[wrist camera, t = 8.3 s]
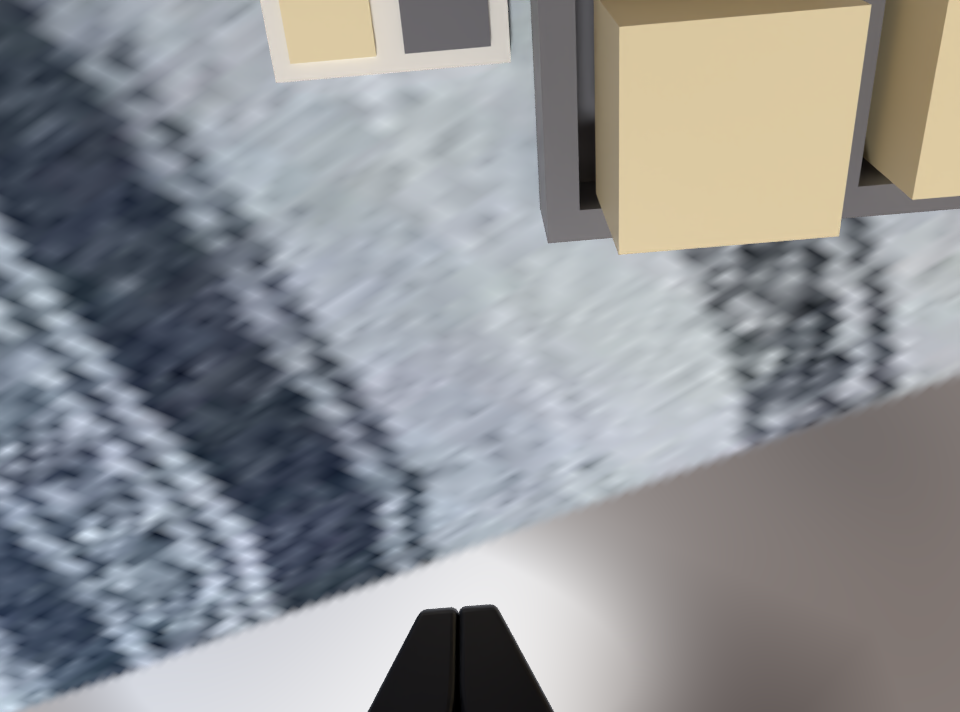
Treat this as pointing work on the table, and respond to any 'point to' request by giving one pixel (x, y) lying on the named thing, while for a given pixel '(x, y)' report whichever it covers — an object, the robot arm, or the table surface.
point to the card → (382, 36)
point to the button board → (571, 127)
